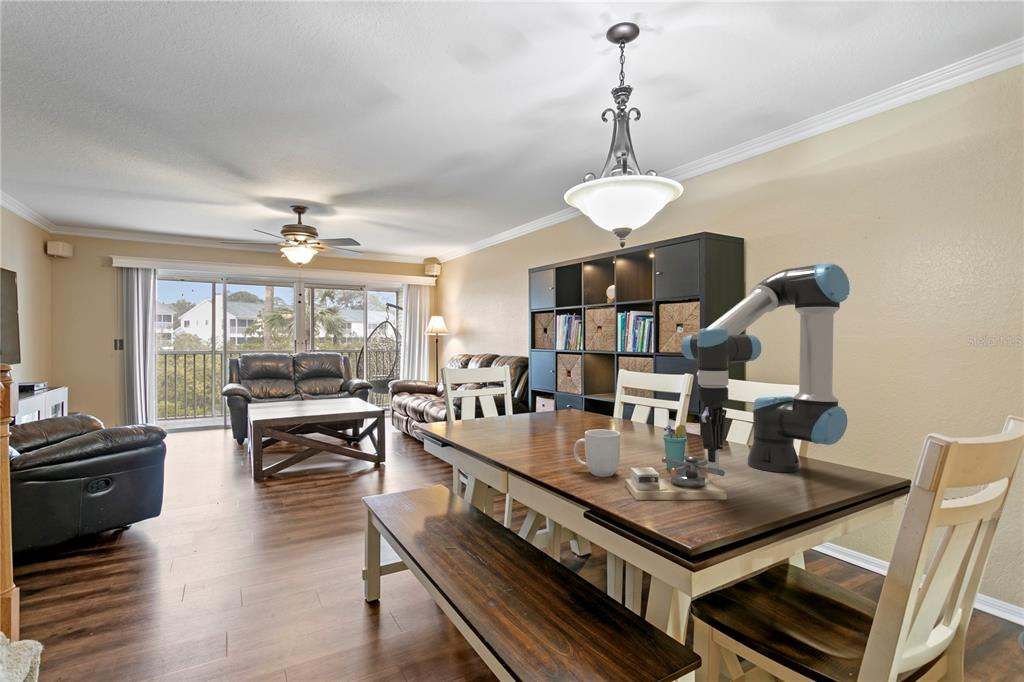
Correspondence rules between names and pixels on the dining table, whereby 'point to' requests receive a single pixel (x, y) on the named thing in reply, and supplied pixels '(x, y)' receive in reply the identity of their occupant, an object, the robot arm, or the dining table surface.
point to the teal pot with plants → (675, 444)
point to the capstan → (690, 471)
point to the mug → (600, 451)
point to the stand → (667, 487)
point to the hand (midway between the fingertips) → (713, 473)
